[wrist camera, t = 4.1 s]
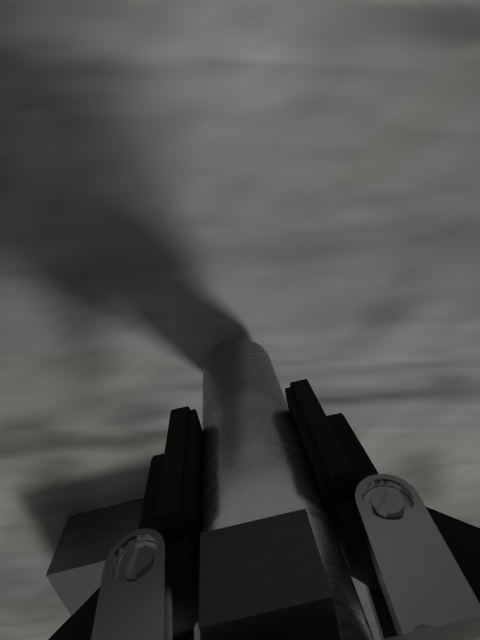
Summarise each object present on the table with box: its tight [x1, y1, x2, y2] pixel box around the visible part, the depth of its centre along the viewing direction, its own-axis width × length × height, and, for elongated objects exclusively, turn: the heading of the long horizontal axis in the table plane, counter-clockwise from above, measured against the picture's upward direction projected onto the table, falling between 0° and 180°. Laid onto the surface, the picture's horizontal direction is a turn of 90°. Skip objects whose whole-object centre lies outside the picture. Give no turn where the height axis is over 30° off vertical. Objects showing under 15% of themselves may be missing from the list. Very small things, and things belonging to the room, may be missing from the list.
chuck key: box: [199, 339, 374, 640], centre depth 10 cm, size 3×6×11 cm, turn 12°
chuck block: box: [46, 499, 381, 640], centre depth 20 cm, size 16×16×3 cm
